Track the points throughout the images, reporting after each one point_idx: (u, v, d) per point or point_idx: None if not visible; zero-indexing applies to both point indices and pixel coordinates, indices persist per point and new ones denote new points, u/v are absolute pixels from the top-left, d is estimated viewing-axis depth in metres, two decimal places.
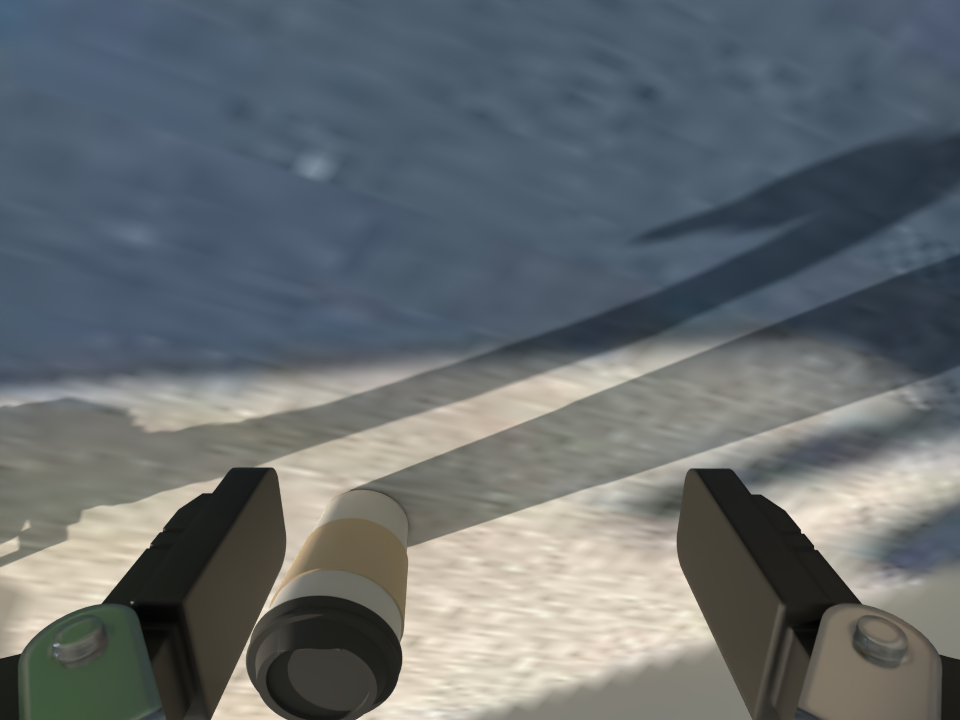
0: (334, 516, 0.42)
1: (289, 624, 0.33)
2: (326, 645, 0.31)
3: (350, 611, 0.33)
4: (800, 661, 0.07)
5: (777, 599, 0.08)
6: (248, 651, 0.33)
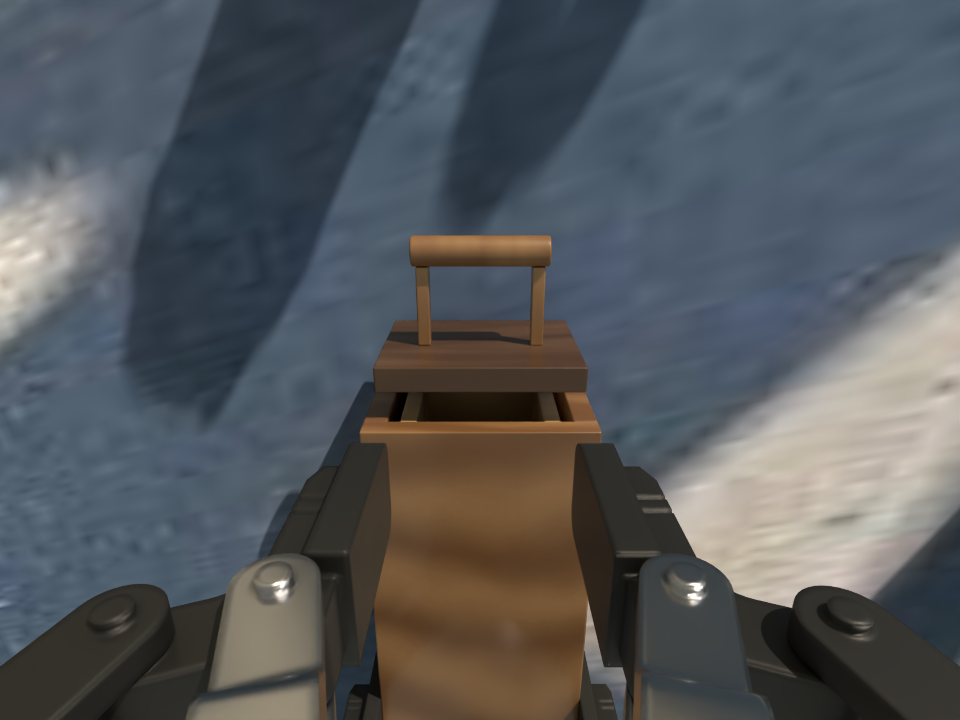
0: None
1: None
2: None
3: None
4: (629, 605, 0.08)
5: (613, 550, 0.09)
6: None
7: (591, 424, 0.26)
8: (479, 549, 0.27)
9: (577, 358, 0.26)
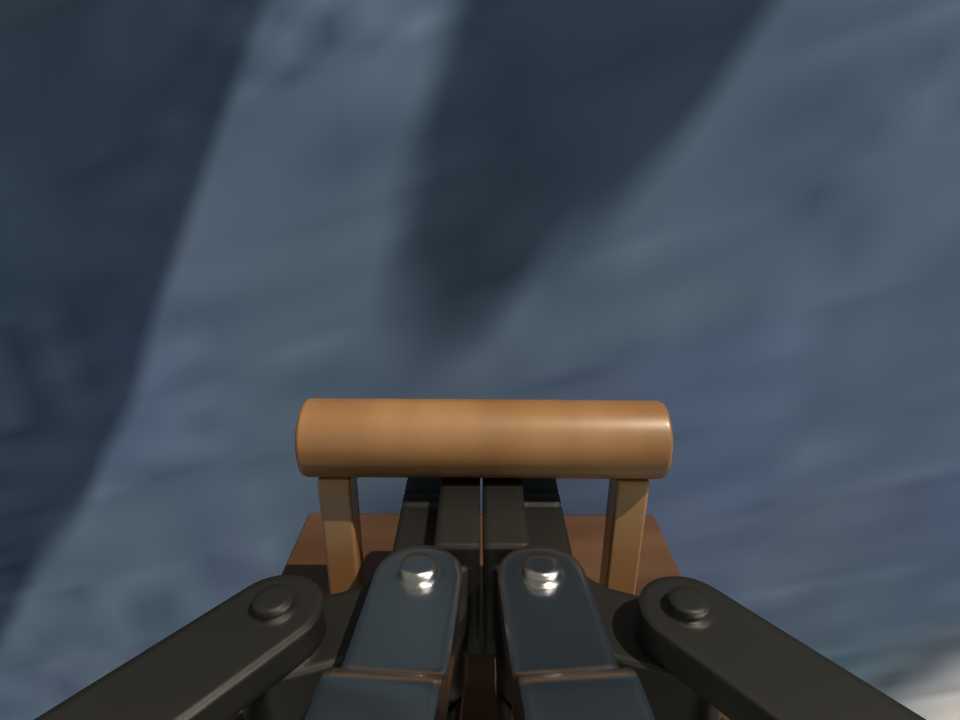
0: None
1: None
2: None
3: None
4: (496, 596, 0.09)
5: (483, 542, 0.09)
6: None
7: None
8: None
9: None
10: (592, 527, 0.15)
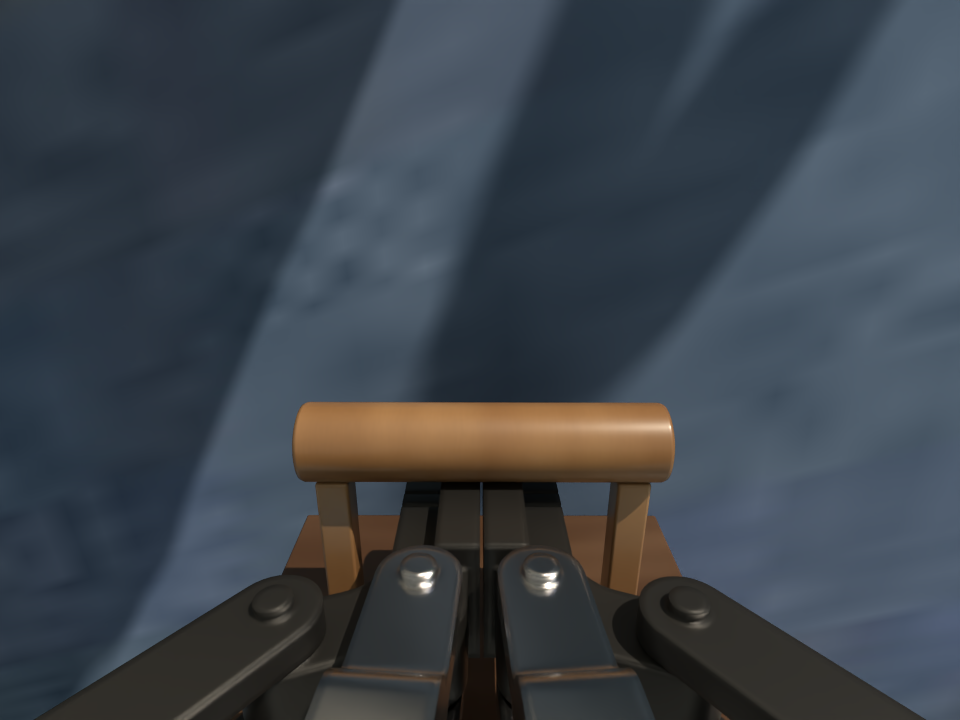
0: None
1: None
2: None
3: None
4: (496, 595, 0.09)
5: (483, 542, 0.09)
6: None
7: None
8: None
9: None
10: (593, 528, 0.15)
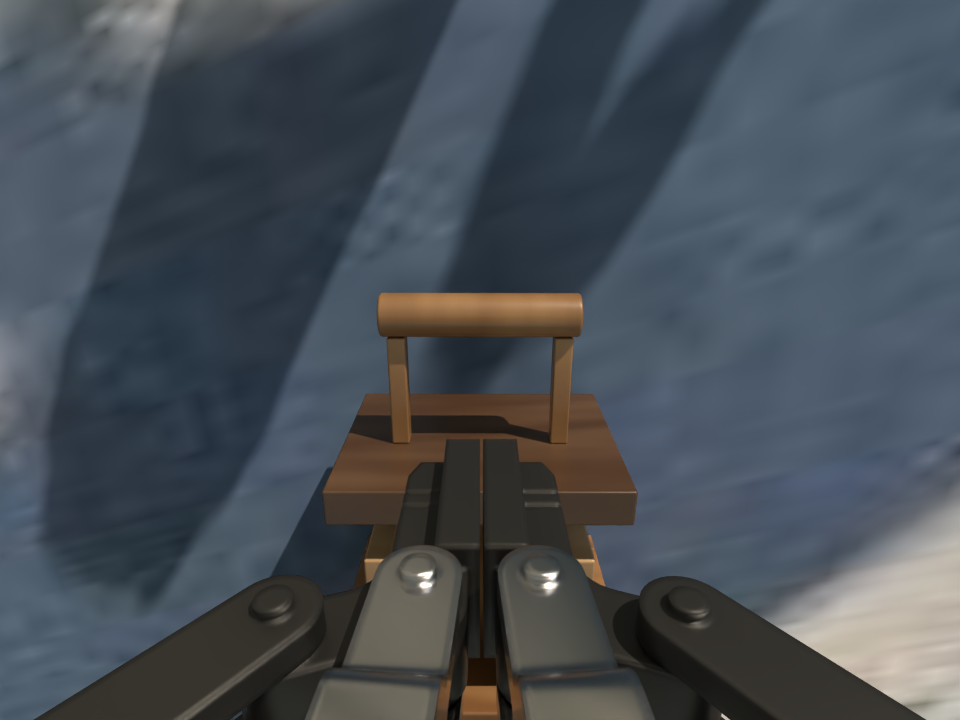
0: None
1: None
2: None
3: None
4: (496, 596, 0.09)
5: (483, 542, 0.09)
6: None
7: None
8: None
9: (619, 471, 0.18)
10: None
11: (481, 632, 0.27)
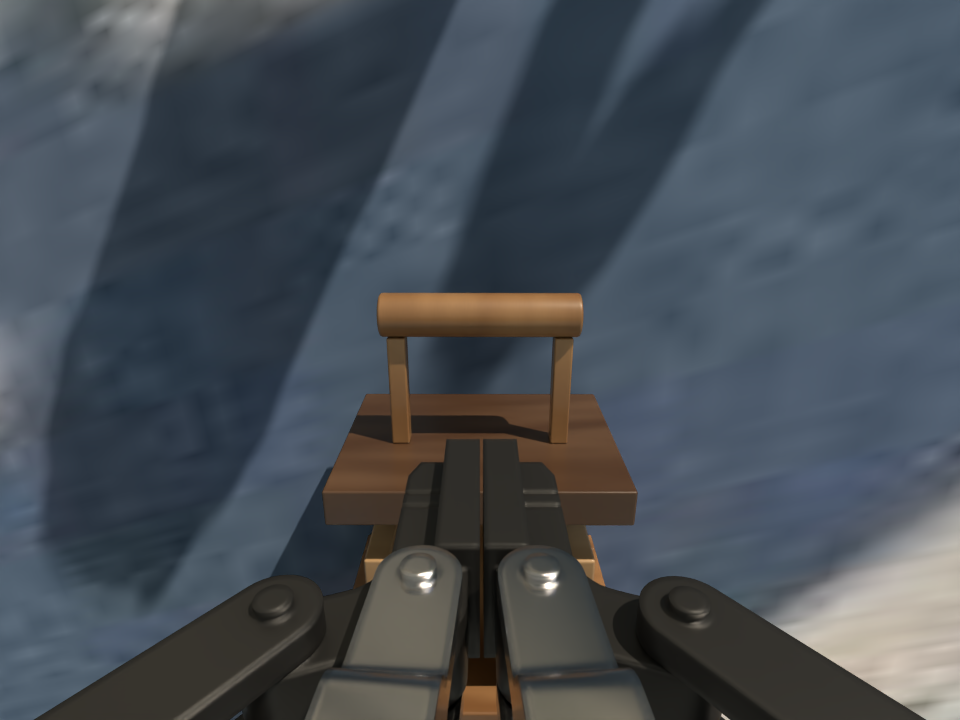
0: None
1: None
2: None
3: None
4: (496, 596, 0.09)
5: (483, 542, 0.09)
6: None
7: None
8: None
9: (619, 471, 0.18)
10: None
11: (481, 632, 0.27)
